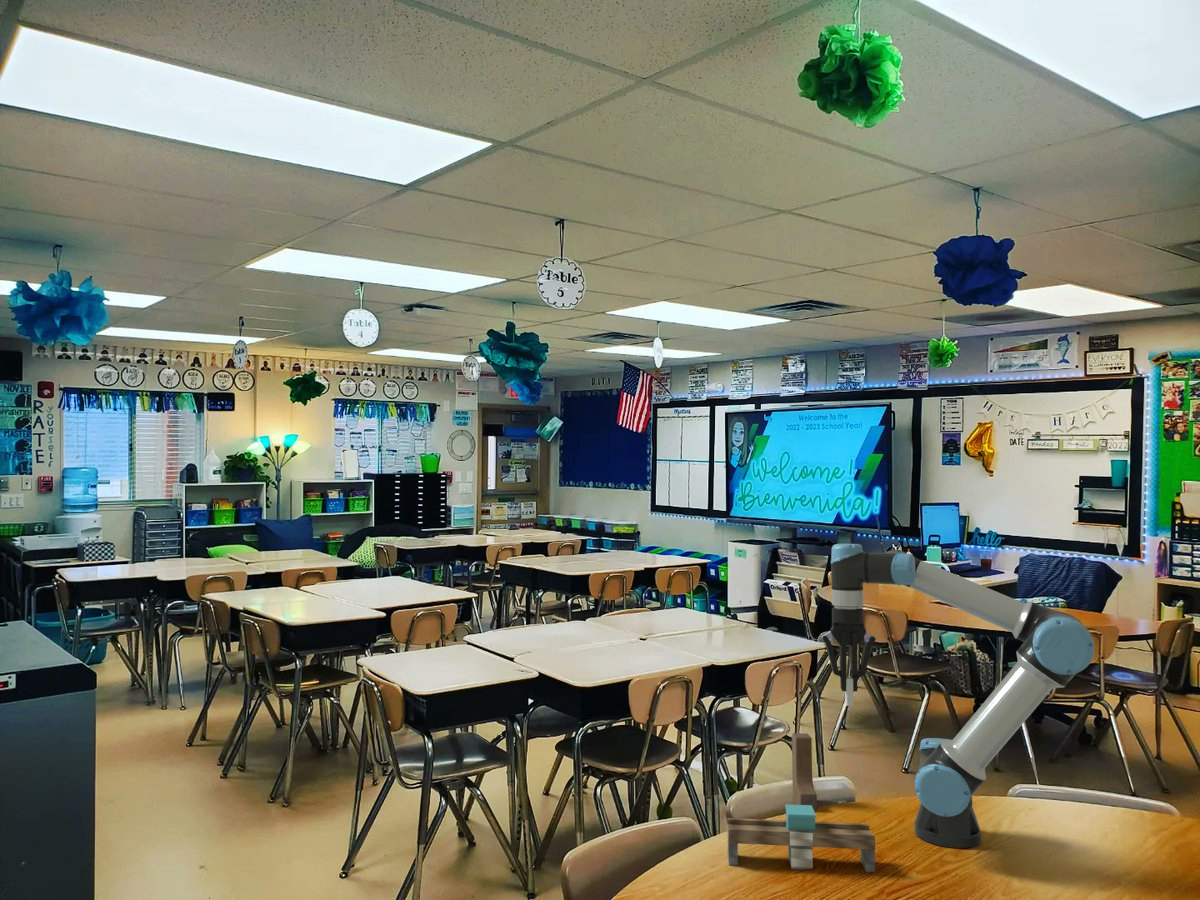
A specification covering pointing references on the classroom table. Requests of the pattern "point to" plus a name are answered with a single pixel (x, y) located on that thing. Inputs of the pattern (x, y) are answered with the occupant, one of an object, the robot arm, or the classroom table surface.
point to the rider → (800, 817)
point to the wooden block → (803, 770)
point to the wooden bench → (801, 839)
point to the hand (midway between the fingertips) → (849, 704)
